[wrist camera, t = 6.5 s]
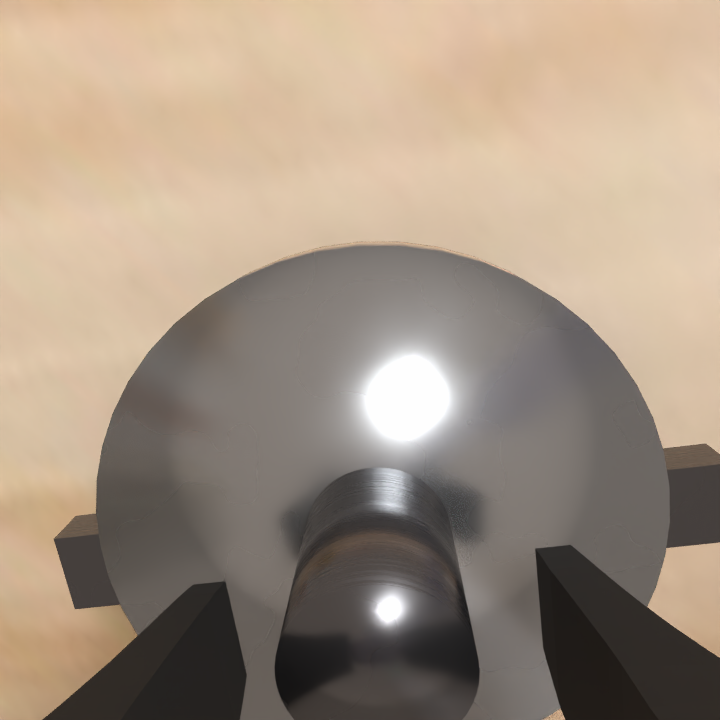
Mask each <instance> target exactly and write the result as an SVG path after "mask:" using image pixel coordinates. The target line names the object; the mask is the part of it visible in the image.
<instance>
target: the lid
mask: <svg viewBox="0 0 720 720" xmlns="http://www.w3.org/2000/svg"><path fill="white" fill-rule="evenodd" d="M96 516H97V523H98V531H99V539H100V547H101V550H102V554H103V558H104V561H105V565H106V569H107V572H108V576H109V579H110V581H111V584H112V586H113V588H114V591H115V593H116V596H117V598H118V600H119V603H120V605H121V607H122V609H123V611H124V613H125V614H126V616H127V618H128V619H129V621H130V623H131V624H132V626H133V628H134V630H135V631H136V633H137V635H139V634H140V633H141V632H142V631H144V630H145V629H146V628H147V627H148V626H149V625H150V624H151V623H152V622H153V621H154V620H155V619H156V618H157V617H158V616H159V615H160V614H161V613H162V612H163V611H164V610H165V609H167V608H168V607H169V606H170V605H171V604H172V603H173V602H174V601H175V600H176V599H177V598H178V597H179V596H180V595H181V594H183V593H184V592H185V591H186V590H187V589H188V588H190V587H191V586H192V585H194V584H203V583H213V582H222V581H226V585H227V590H228V594H229V598H230V603H231V607H232V612H233V616H234V620H235V625H236V629H237V634H238V638H239V642H240V647H241V651H242V656H243V660H244V665H245V669H246V673H247V678H246V685H245V691H244V698H243V704H242V710H241V716H240V720H542V719H544V718H546V717H548V716H549V715H551V714H553V713H554V712H556V711H557V710H558V709H560V708H561V707H560V705H559V702H558V698H557V695H556V691H555V688H554V685H553V681H552V678H551V674H550V671H549V667H548V664H547V660H546V656H545V653H544V649H543V641H542V629H541V616H540V603H539V591H538V578H537V566H536V553H535V549H536V548H545V547H555V546H564V545H571V546H573V547H574V548H575V549H576V550H578V551H579V552H580V553H581V554H582V555H584V556H585V557H586V558H587V559H588V560H590V561H591V562H592V563H593V564H594V565H596V566H597V567H598V568H599V569H600V570H602V571H603V572H604V573H605V574H606V575H608V576H609V577H610V578H611V579H612V580H614V581H615V582H616V583H617V584H618V585H620V586H621V587H622V588H623V589H625V590H626V591H627V592H628V593H630V594H631V595H632V596H633V597H635V598H636V599H637V600H638V601H640V602H641V603H642V604H644V605H645V606H646V607H647V606H648V604H649V601H650V599H651V597H652V595H653V592H654V590H655V588H656V585H657V581H658V578H659V575H660V571H661V568H662V564H663V561H664V557H665V553H666V546H667V538H668V531H669V524H670V487H669V480H668V474H667V468H666V462H665V456H664V451H663V448H662V444H661V441H660V438H659V435H658V432H657V429H656V426H655V423H654V420H653V417H652V415H651V413H650V411H649V409H648V407H647V405H646V403H645V401H644V399H643V397H642V395H641V393H640V391H639V389H638V387H637V384H636V383H635V382H634V380H633V379H632V377H631V376H630V374H629V373H628V371H627V370H626V369H625V367H624V366H623V364H622V363H621V361H620V360H619V359H618V357H617V356H616V354H615V353H614V352H613V351H612V350H611V349H610V348H609V346H608V345H607V344H606V343H605V342H604V341H603V340H602V339H601V338H600V337H599V336H598V335H597V334H596V333H595V332H594V330H593V329H592V328H591V327H590V326H589V325H588V324H587V323H585V322H584V321H583V320H582V319H580V318H579V317H578V316H577V315H575V314H574V313H573V312H572V311H570V310H569V309H568V308H567V307H565V306H564V305H563V304H562V303H560V302H559V301H558V300H557V299H555V298H553V297H552V296H550V295H548V294H547V293H545V292H543V291H542V290H540V289H538V288H537V287H535V286H533V285H532V284H530V283H528V282H526V281H525V280H523V279H521V278H520V277H518V276H516V275H515V274H513V273H511V272H510V271H507V270H505V269H502V268H500V267H498V266H495V265H493V264H491V263H488V262H486V261H483V260H481V259H479V258H476V257H474V256H470V255H466V254H463V253H459V252H455V251H451V250H448V249H444V248H440V247H436V246H428V245H421V244H413V243H406V242H354V243H347V244H340V245H332V246H325V247H320V248H316V249H313V250H309V251H305V252H302V253H298V254H294V255H291V256H287V257H284V258H282V259H279V260H277V261H275V262H272V263H270V264H268V265H265V266H263V267H261V268H258V269H256V270H254V271H251V272H250V273H248V274H246V275H244V276H243V277H241V278H239V279H237V280H236V281H234V282H233V283H231V284H229V285H228V286H226V287H224V288H223V289H221V290H219V291H218V292H216V293H214V294H213V295H211V296H209V297H208V298H206V299H204V300H203V301H202V302H201V303H199V304H198V305H197V306H196V307H195V308H193V309H192V310H191V311H190V312H188V313H187V314H186V315H185V316H183V317H182V318H181V319H180V320H179V321H177V322H176V323H175V324H174V325H173V326H172V327H171V328H170V329H169V330H168V331H167V333H166V334H165V335H164V336H163V337H162V338H161V339H160V340H159V341H158V342H157V343H156V344H155V345H154V347H153V348H152V349H151V350H150V351H149V352H148V354H147V355H146V357H145V358H144V359H143V361H142V362H141V364H140V365H139V367H138V368H137V370H136V371H135V373H134V374H133V376H132V377H131V378H130V380H129V381H128V383H127V385H126V387H125V389H124V392H123V394H122V396H121V398H120V400H119V402H118V404H117V406H116V408H115V410H114V412H113V414H112V417H111V421H110V424H109V427H108V430H107V433H106V436H105V439H104V443H103V446H102V451H101V457H100V463H99V470H98V476H97V498H96Z"/></svg>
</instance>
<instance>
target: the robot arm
mask: <svg viewBox="0 0 720 720" xmlns="http://www.w3.org/2000/svg"><path fill="white" fill-rule="evenodd" d="M535 553H536V566H537V578H538V591H539V603H540V616H541V629H542V641H543V649H544V653H545V656H546V660H547V664H548V667H549V671H550V674H551V678H552V681H553V685H554V688H555V691H556V695H557V698H558V702H559V705H560V707H561V710H562V712H563V715H564V717H565V720H720V658H719V657H717V656H716V655H714V654H713V653H711V652H710V651H708V650H707V649H705V648H704V647H702V646H701V645H699V644H698V643H696V642H695V641H693V640H692V639H691V638H689V637H688V636H686V635H685V634H683V633H682V632H680V631H679V630H677V629H676V628H674V627H673V626H672V625H670V624H669V623H668V622H666V621H665V620H663V619H662V618H661V617H659V616H658V615H657V614H655V613H654V612H653V611H651V610H650V609H649V608H648V607H646V606H645V605H644V604H642V603H641V602H640V601H638V600H637V599H636V598H635V597H633V596H632V595H631V594H630V593H628V592H627V591H626V590H625V589H623V588H622V587H621V586H620V585H618V584H617V583H616V582H615V581H614V580H612V579H611V578H610V577H609V576H608V575H606V574H605V573H604V572H603V571H602V570H600V569H599V568H598V567H597V566H596V565H594V564H593V563H592V562H591V561H590V560H588V559H587V558H586V557H585V556H584V555H582V554H581V553H580V552H579V551H578V550H576V549H575V548H574V547H573V546H571V545H564V546H555V547H545V548H536V549H535ZM246 678H247V673H246V669H245V665H244V660H243V656H242V651H241V647H240V642H239V638H238V634H237V629H236V625H235V620H234V616H233V612H232V607H231V603H230V598H229V594H228V590H227V585H226V581H222V582H213V583H203V584H194V585H192V586H191V587H190V588H188V589H187V590H186V591H185V592H184V593H183V594H181V595H180V596H179V597H178V598H177V599H176V600H175V601H174V602H173V603H172V604H171V605H170V606H169V607H168V608H167V609H165V610H164V611H163V612H162V613H161V614H160V615H159V616H158V617H157V618H156V619H155V620H154V621H153V622H152V623H151V624H150V625H149V626H148V627H147V628H146V629H145V630H144V631H142V632H141V633H140V634H139V635H138V636H137V637H136V638H135V639H134V640H133V641H132V642H131V643H130V644H129V645H128V646H127V647H125V648H124V649H123V650H122V651H121V652H120V653H119V654H118V655H117V656H116V657H115V658H114V659H113V660H112V661H110V662H109V663H108V664H107V665H106V666H105V667H104V668H102V669H101V670H100V671H99V672H98V673H97V674H96V675H94V676H93V677H92V678H91V679H90V680H89V681H88V682H86V683H85V684H84V685H83V686H82V687H81V688H79V689H78V690H77V691H76V692H75V693H74V694H73V695H71V696H70V697H69V698H68V699H67V700H66V701H65V702H63V703H62V704H61V705H60V706H59V707H57V708H56V709H55V710H54V711H53V712H51V713H50V714H49V715H48V716H46V717H45V718H44V719H43V720H240V716H241V710H242V704H243V698H244V691H245V685H246Z"/></svg>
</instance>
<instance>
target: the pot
mask: <svg viewBox="0 0 720 720" xmlns="http://www.w3.org/2000/svg"><path fill="white" fill-rule="evenodd" d="M663 451H664V456H665V462H666V468H667V474H668V480H669V487H670V524H669V531H668V538H667V546H666V548H670V547H679V546H689V545H699V544H708V543H718V542H720V454H719V453H717V452H716V451H715V450H713V449H712V448H711V447H710V446H708V445H707V444H699V445H690V446H681V447H673V448H664V449H663ZM54 541H55V544H56V548H57V551H58V554H59V558H60V561H61V564H62V568H63V571H64V574H65V578H66V581H67V584H68V587H69V591H70V594H71V597H72V601H73V604H74V607H75V609H82V608H91V607H101V606H110V605H120V603H119V600H118V598H117V596H116V593H115V591H114V588H113V586H112V584H111V581H110V579H109V576H108V572H107V569H106V565H105V561H104V558H103V554H102V550H101V547H100V539H99V531H98V523H97V516H96V514H89V515H81V516H75V517H74V518H73V520H72V521H71V522H70V523H69V524H68V525H67V526H66V527H65V528H64V529H63V530H62V531H61V532H60V533H59V534H58V535H57V536H56V537H55V538H54Z"/></svg>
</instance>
